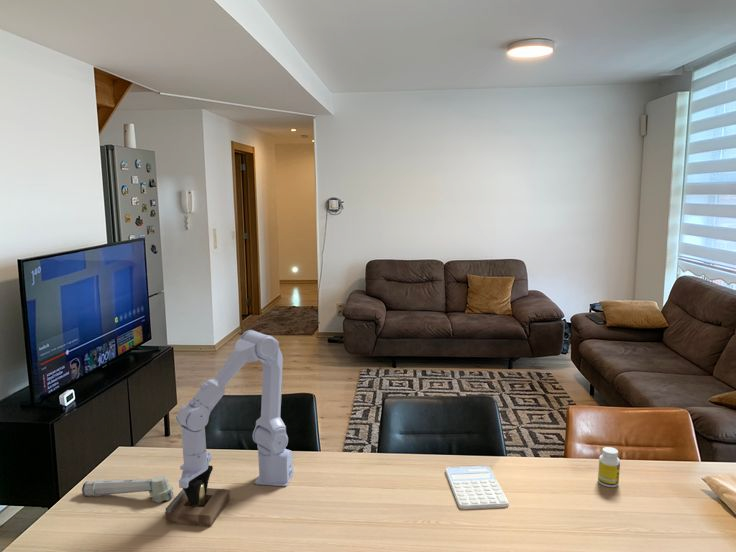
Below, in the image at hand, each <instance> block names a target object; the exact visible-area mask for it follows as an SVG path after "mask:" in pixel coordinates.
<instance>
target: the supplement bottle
mask: <svg viewBox="0 0 736 552" xmlns="http://www.w3.org/2000/svg"><path fill="white" fill-rule="evenodd" d="M601 453H602V454H600V455H599V458H598V469H597V471H598V472H597V482H598V483H599V484H600V485H602V486H603V487H606V488H607V487H608V488H615V487H617V486H619V482H620V468H621V459H620V458H619V457H618V456H619V451H618V449H617V448H615V447H612V446H611V447H610V446H605V447H603V448H602V452H601Z"/></svg>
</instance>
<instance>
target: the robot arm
mask: <svg viewBox="0 0 736 552" xmlns="http://www.w3.org/2000/svg"><path fill="white" fill-rule="evenodd" d="M258 361H260V362H261V363H262V381H261V382H262V383H261V384H262V385H261V403H260V404H261V406H260V407H261V409H260V417H259V418H258V419H256V421H255V427H254V429H253V431H252V441H253V442H254V443H255V444H256V445H257V446H256V447H257V456H258V477H257V478H256V480H255V481H254V485H261V486H262V485H263V486H276V487H286V486H288V484H289V482H290V480H291V479H292V478H293V475H294V473H295V471H294V459H293V451H292V450H290V449H287V448H286V447H287V446H288V443H289V437H288V434H287V426H286V425H285V423H284V421H283V419H282V418H281V411H282V410H281V406H282V385H283V368H284V367H283V364H284V363H283V362H284V357H283V353H282V351H281V349H280V342H279V340H277V339H276V338H275V337H274V336H272V335H270V334H269V335H268V334H264V333H262V332H260V331H259V332H258V331H256V330H254V329H249V330H246V331H245V332H243V333H242V335H241V337H240V338H238V339H237V340H236V343H235V347H234V349H233V351H232V352H231V353H230V355H229V356H228V358H227V359H226V361H224V363H223V365H222V366H221V367H220V369H219V371H218V372H217V373H216V375H215V377H213V378H212V379H207V380H206V381H205V382H202V384H201V385H200V386H199V387H200V389H198V391H197V392H196V393H195V395H194V396H193V397H192V399H190V400H189V401H188V403H186V404H184V405H183V406H181V407H180V409H179V410H178V412H177V415H176V416H175V419H176V422H177V423H178V424H179V425H180V429H181V431H180V432H181V443H182V454H183V455H182V457H183V459H182V460H183V463H182V464H181V465H180V467H179V469H180V470H181V471H182V472H181V477H180V478H179V480H178V487H179V489H183V490H184V491H185V493H186V495H187V498H188V500H189V503H190V505H198V503H199V493H200V487H201V484H202V482H204V492H205V495H206V492H207V488H208V487H209V486H208V484H209V482H210V481H209V480H210V477H211V473H212V471H213V470H214V466H213V465H210V462H211V461H212V458H213V457H212V453H211V452H207V441H206V429H205V428H206V426H207V425H208V423H209V419H210V415H211V413H212V411H213V409H214V408H215V407H216V406H217V404H218V403H219V401H220V400H221V399H222V397H223V396H224V395H225V394H226V393H225V392H226V391H225V387H226V385H227V384H228V383H229V382H230V381H231V380H232V378H233V377H234V376H235V375H236V374H237V373H239V370H241V368H243V366H244V365H245V364H247V363H253V362H258Z"/></svg>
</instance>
